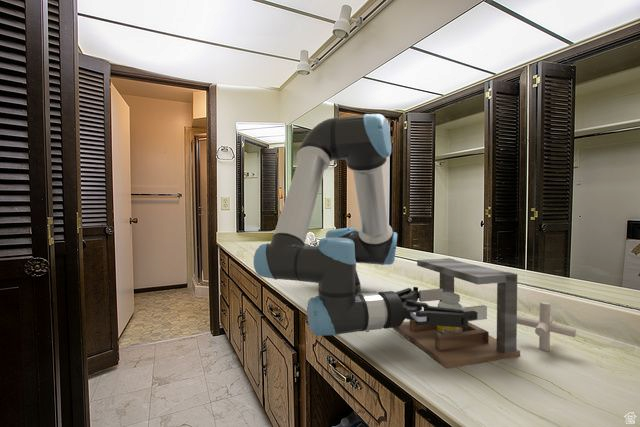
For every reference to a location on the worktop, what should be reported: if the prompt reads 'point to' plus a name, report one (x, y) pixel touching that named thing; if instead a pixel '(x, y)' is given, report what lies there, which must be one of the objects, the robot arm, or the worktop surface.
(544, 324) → the pipe connector
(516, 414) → the worktop surface
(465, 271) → the keeper holder
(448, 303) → the supplement bottle
